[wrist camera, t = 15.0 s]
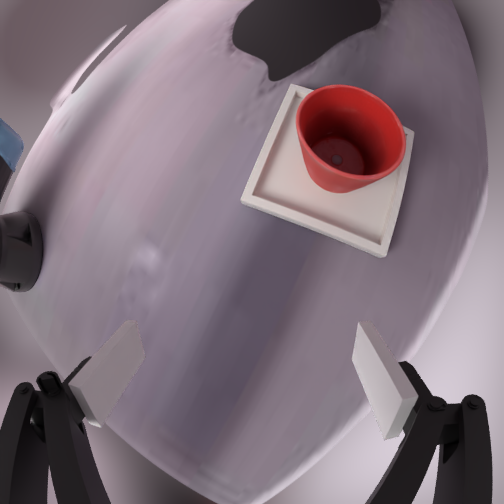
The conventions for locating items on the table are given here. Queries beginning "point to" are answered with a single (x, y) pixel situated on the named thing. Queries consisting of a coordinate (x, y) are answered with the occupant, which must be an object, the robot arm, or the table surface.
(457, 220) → the table surface
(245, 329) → the table surface
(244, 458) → the table surface
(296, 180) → the drip tray
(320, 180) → the flower pot
